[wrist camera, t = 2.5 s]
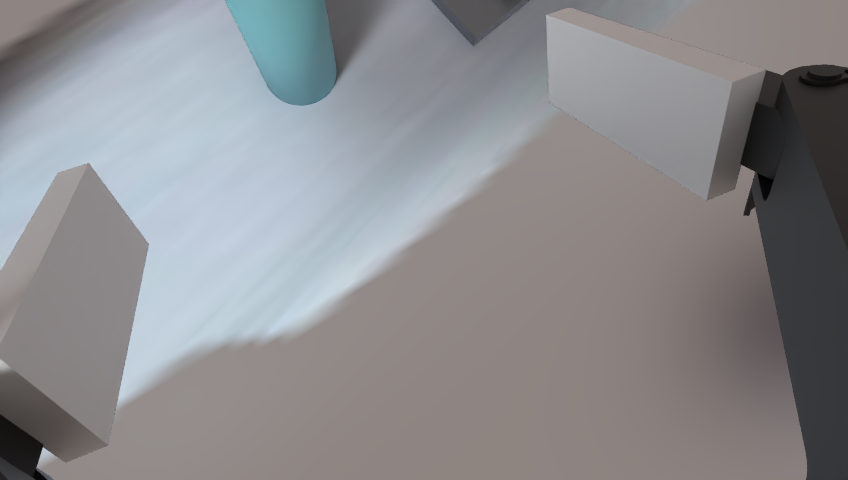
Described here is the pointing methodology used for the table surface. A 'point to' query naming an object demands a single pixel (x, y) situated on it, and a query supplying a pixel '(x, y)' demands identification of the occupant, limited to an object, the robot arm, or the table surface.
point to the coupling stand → (478, 15)
